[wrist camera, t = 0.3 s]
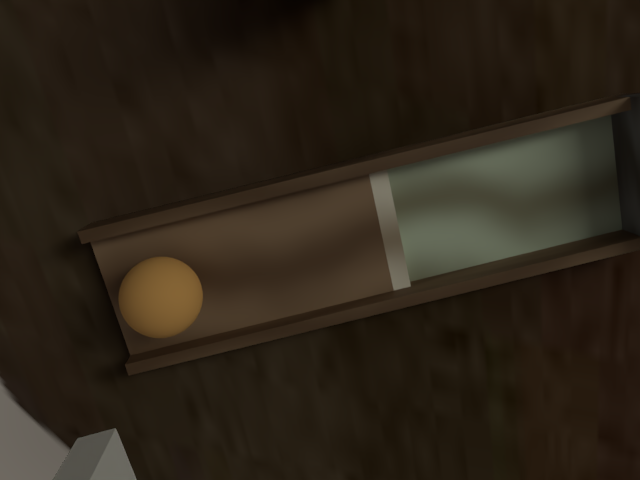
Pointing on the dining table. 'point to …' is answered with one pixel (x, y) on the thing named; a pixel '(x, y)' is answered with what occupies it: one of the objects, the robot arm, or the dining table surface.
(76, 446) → the robot arm
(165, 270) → the ball
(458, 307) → the dining table surface
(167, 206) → the lane
